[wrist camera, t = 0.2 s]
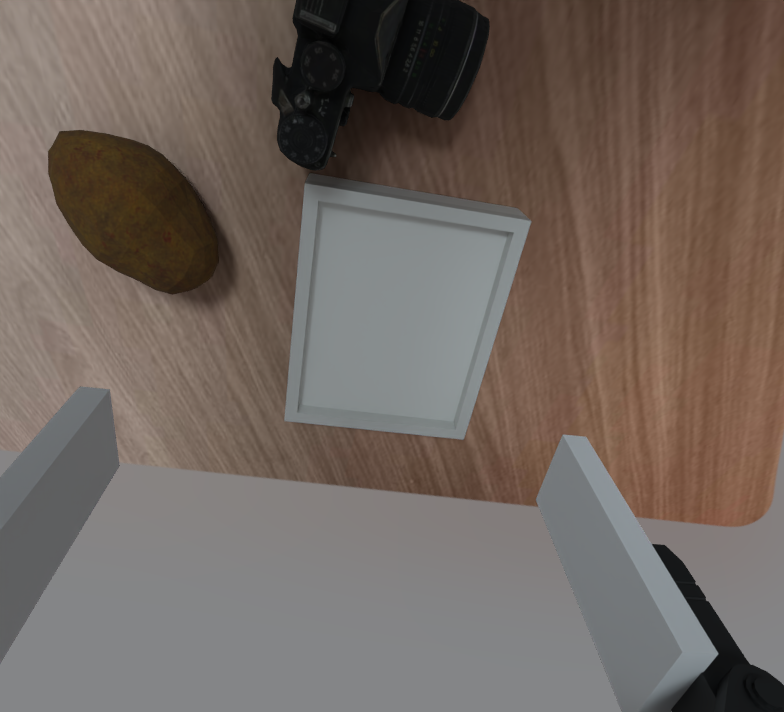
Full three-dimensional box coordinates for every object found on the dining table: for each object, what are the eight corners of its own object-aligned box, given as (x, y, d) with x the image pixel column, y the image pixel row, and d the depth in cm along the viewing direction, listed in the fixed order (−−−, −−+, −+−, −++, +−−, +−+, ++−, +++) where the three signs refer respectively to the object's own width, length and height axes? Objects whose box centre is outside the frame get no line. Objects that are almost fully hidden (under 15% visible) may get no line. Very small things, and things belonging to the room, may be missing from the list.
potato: (191, 294, 41) (158, 338, 35) (48, 178, 36) (-23, 204, 30) (256, 226, 39) (235, 260, 32) (112, 92, 34) (51, 99, 27)
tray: (309, 172, 37) (304, 183, 34) (517, 208, 39) (531, 220, 36) (289, 396, 47) (284, 420, 44) (457, 415, 49) (463, 439, 46)
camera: (412, 189, 38) (427, 225, 29) (273, 132, 36) (245, 153, 27) (498, -23, 32) (550, -56, 23) (338, -110, 29) (328, -182, 21)
